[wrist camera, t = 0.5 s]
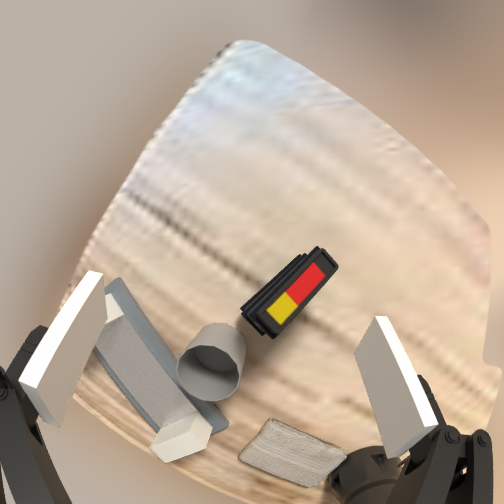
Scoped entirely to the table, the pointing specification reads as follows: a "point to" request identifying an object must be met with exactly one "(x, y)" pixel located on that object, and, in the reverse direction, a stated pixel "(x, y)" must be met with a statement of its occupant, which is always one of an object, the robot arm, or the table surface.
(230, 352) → the cup
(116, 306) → the block
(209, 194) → the table surface
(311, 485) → the washcloth
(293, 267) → the black ribbed block
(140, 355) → the steel rail
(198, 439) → the module
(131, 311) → the rail board
